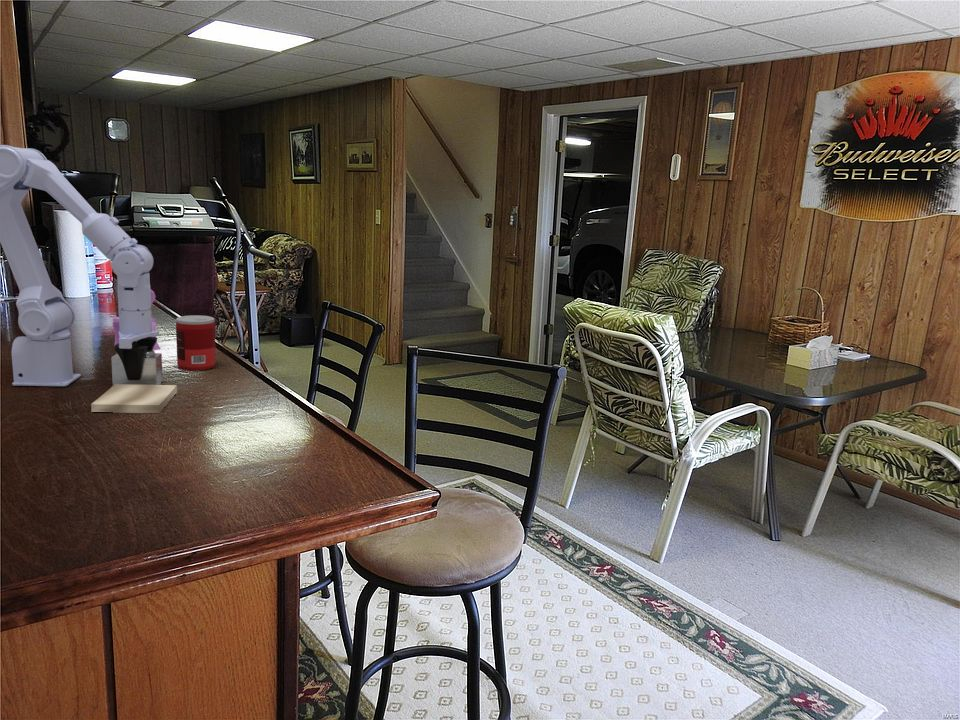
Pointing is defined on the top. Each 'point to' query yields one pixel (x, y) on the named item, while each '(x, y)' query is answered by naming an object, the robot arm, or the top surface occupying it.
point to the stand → (134, 398)
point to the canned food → (195, 342)
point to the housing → (149, 370)
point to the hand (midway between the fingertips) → (137, 376)
